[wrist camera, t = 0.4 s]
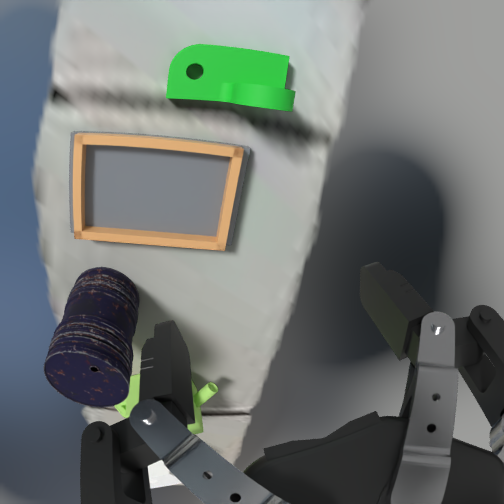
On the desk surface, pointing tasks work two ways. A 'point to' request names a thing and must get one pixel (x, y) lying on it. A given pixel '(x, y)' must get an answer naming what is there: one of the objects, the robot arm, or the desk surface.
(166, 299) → the desk surface
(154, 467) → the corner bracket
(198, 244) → the fitting jig
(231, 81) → the mechanical part
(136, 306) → the storage jar
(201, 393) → the gearbox
